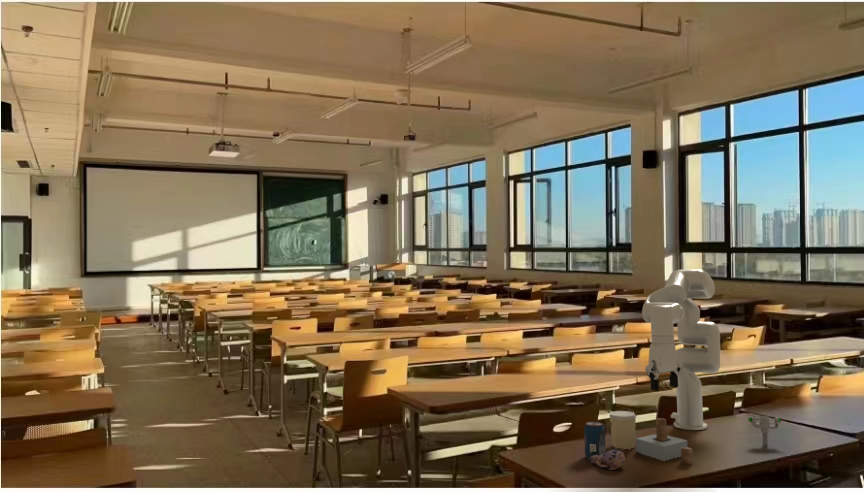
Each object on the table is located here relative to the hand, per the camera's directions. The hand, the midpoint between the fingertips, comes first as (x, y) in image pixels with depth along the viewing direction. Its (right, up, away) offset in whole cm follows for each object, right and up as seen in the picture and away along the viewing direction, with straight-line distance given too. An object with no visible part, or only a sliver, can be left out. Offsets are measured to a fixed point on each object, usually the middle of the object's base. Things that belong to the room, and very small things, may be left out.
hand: (664, 388), depth 231 cm
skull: (-24, -23, -14) cm, 36 cm away
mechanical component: (+38, -22, +6) cm, 44 cm away
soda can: (-25, -23, -4) cm, 35 cm away
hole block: (-1, -23, -2) cm, 23 cm away
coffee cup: (-12, -23, +8) cm, 28 cm away
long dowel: (-1, -23, -2) cm, 23 cm away
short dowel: (+3, -22, -13) cm, 26 cm away
